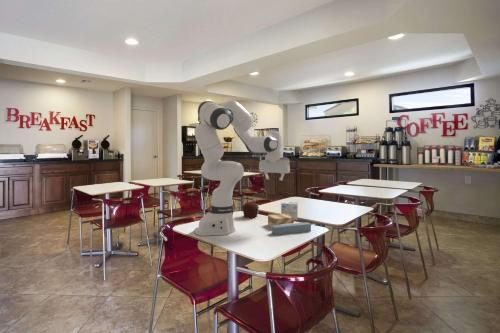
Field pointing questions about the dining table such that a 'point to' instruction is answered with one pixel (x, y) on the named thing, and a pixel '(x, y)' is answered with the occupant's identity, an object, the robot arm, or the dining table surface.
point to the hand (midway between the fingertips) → (274, 179)
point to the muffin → (250, 210)
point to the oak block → (280, 219)
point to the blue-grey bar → (291, 228)
